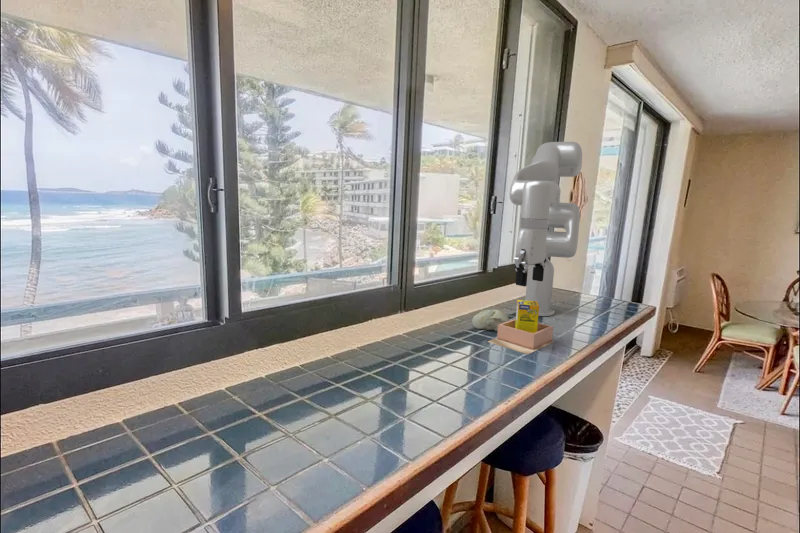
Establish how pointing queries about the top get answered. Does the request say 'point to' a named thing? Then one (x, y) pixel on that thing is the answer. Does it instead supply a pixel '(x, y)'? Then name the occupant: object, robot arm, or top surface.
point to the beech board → (515, 346)
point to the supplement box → (527, 315)
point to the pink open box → (524, 335)
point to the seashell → (489, 319)
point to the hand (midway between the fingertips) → (529, 283)
